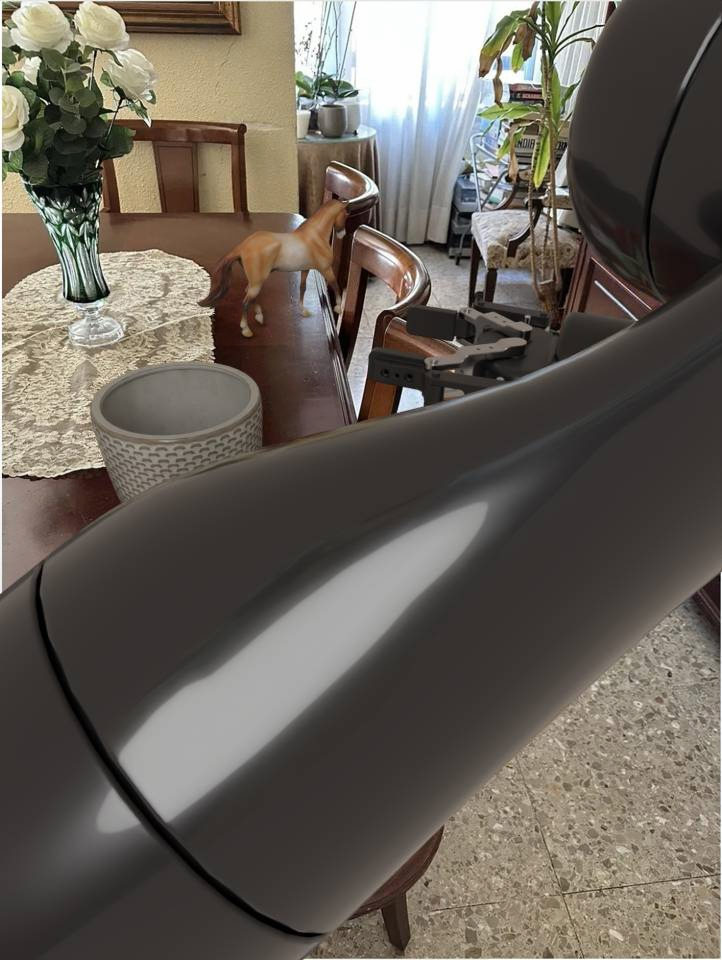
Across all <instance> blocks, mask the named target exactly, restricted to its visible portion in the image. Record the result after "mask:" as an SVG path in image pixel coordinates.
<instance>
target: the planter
mask: <svg viewBox="0 0 722 960" xmlns="http://www.w3.org/2000/svg"><path fill="white" fill-rule="evenodd" d="M262 399H263V398H262V395H261V390H260V388H259V386H258V383H257V382H256V380H254V379H253V378H252V377H251V376H249V375H248V374H247V373H246V372H243V371H241V370H240V369H237V368H235V367H232V366H230V365H225V364H221V363H217V362H209V361H208V362H207V361H200V360H199V361H198V360H197V361H196V360H195V361H192V360H191V361H189V360H188V361H187V360H186V361H171V362H162V363H157V364H152V365H148V366H144V367H139V368H137V369H134V370H131V371H128V372H126V373H124V374H121V375H119V376H117V377H115V378H114V379H112V380H110V381H109V382H106V384H105V385H103V386H102V387H101V388H100V389H99V390H98V391H97V392H96V393H95V395H94V396H93V398H92V399H91V403H90V406H89V415H90V423H91V427H92V430H93V433H94V436H95V439H96V442H97V445H98V448H99V451H100V454H101V458H102V460H103V463H104V466H105V468H106V472H107V475H108V477H109V479H110V481H111V485H112V487H113V489H114V491H115V493H116V496H117V498H118V500H119V502H120V504H121V503H123V502H125V501H126V500H128V499H130V498H131V497H133V496H135V495H137V494H139V493H141V492H143V491H145V490H147V489H149V488H150V487H152V486H154V485H156V484H158V483H160V482H162V481H165V480H168V479H170V478H173V477H176V476H178V475H181V474H184V473H186V472H189V471H192V470H194V469H197V468H200V467H202V466H205V465H208V464H210V463H213V462H216V461H218V460H221V459H225V458H228V457H231V456H235V455H238V454H242V453H245V452H249V451H252V450H256V449H259V448H263V421H264V420H263V419H264V418H263V415H264V414H263V400H262Z"/></svg>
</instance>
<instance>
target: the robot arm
mask: <svg viewBox="0 0 722 960" xmlns="http://www.w3.org/2000/svg"><path fill="white" fill-rule="evenodd" d="M572 106H573V107H572V111H571V116H570V120H569V125H568V130H567V143H566V144H567V146H566V160H565V170H566V180H567V188H568V190H567V191H568V199H569V202H570V205H571V209H572V212H573V216H574V218H575V219H574V220H575V222H576V224H577V228H578V229H579V231H580V232H581V235H582V237H583V239H584V241H585V242H586V243H587V245H588V247H589V248H590V250H591V252H592V253H593V254H594V255H595V256H596V257H597V258H598V260H599V261H600V262H601V263H602V264H603V265H604V266H605V267H607V268H608V269H609V270H610V271H611V272H613V273H614V275H616V276H617V277H619V278H620V279H621V280H622V281H624V282H625V283H626V284H628V285H629V286H631V287H632V288H634V289H636V290H637V291H639V292H640V293H642V294H643V295H645V296H648V297H649V298H651V299H653V300H655V301H657V302H658V303H661V304H662V305H660V306H658V307H657V308H654V310H652V311H650V312H649V313H647V314H645V315H644V316H642V317H641V318H639V319H637V320H634V319H626V318H620V317H614V316H606V315H601V314H600V315H599V314H593V313H587V312H580V311H571V312H569V313H568V314H566V315H565V317H564V319H563V321H562V325H561V328H560V332H559V333H557V334H556V333H555V332H551V331H550V328H551V324H552V323H551V322H552V319H553V314H552V313H550V312H547V311H545V310H543V311H542V310H537V309H531V308H525V307H519V306H513V305H508V304H503V303H502V304H501V303H496V302H490V301H485V300H475V301H473V302H472V307H469V306H464V307H460V308H459V309H458V310H456V309H450V308H443V307H436V306H431V305H424V304H417V303H413V304H411V305H410V307H408V308H407V310H406V319H405V331H406V333H407V334H409V335H411V336H416V337H422V338H428V339H433V340H439V341H445V342H451V343H452V342H454V340H455V342H456V343H458V344H460V345H462V346H460V347H459V348H458V349H457V350H456V352H454V354H448V355H447V354H446V355H438V356H437V355H436V356H429V357H427V355H426V354H420V353H415V352H409V351H405V350H404V351H403V350H397V349H391V348H387V347H381V346H376V347H373V348H372V350H371V351H370V352H369V353H368V358H367V360H368V361H367V377H368V379H369V380H370V381H372V382H374V383H380V384H384V385H390V386H395V387H401V388H405V389H411V390H414V391H415V390H416V391H419V392H420V393H421V397H422V398H423V406H419V407H415V408H411V409H407V410H403V411H398V412H395V413H391V414H386V415H382V416H378V417H375V418H370V419H365V420H362V421H357V422H353V423H350V424H345V425H341V426H338V427H333V428H329V429H326V430H322V431H318V432H314V433H311V434H306V435H303V436H300V437H299V436H298V437H295V438H292V439H288V440H284V441H281V442H276V443H274V444H270V445H267V446H264V447H263V446H262V448H259V449H256V450H252V451H249V452H245V453H242V454H238V455H235V456H231V457H228V458H225V459H221V460H218V461H216V462H213V463H210V464H208V465H205V466H202V467H200V468H197V469H194V470H192V471H189V472H186V473H184V474H181V475H178V476H176V477H173V478H170V479H168V480H165V481H162V482H160V483H158V484H156V485H154V486H152V487H150V488H149V489H147V490H145V491H143V492H141V493H139V494H137V495H135V496H133V497H131V498H130V499H128V500H126V501H125V502H123V503H121V502H120V504H118V505H117V506H115V507H113V508H112V509H110V510H108V511H107V512H105V513H103V514H102V515H100V516H99V517H98V518H96V519H95V520H94V521H92V522H91V523H89V524H87V525H86V526H85V527H84V528H82V529H80V530H79V531H78V532H77V533H75V534H73V535H72V536H71V537H69V538H68V539H66V540H65V541H64V542H62V543H61V544H59V545H58V546H57V547H56V548H55V549H52V551H51V552H50V553H49V554H48V555H46V556H45V557H44V558H43V559H42V560H40V561H39V562H37V564H35V565H34V566H33V567H31V568H30V569H29V570H27V572H25V573H24V574H23V575H22V576H20V577H19V578H18V579H17V580H15V581H14V582H13V583H11V584H10V585H9V586H8V587H7V588H5V589H4V590H3V591H2V592H0V960H305V959H306V958H307V957H308V956H309V955H310V954H312V952H314V951H315V950H316V949H317V948H318V947H319V946H320V945H321V944H323V943H324V942H325V941H326V940H327V939H328V938H329V937H330V936H331V935H332V934H334V932H335V931H336V930H338V929H340V928H341V927H342V926H344V924H345V923H346V922H347V921H348V920H349V919H350V918H351V917H352V916H353V915H354V914H356V912H357V911H358V910H359V909H360V908H361V907H363V906H364V904H365V903H366V902H368V901H369V899H371V898H372V897H373V896H374V895H375V894H376V893H377V892H378V890H380V888H381V887H383V885H385V884H386V882H388V881H389V880H390V879H391V878H392V876H394V875H395V874H396V873H397V872H398V871H399V870H400V869H401V868H402V867H403V866H404V865H405V864H406V863H407V862H408V861H409V860H410V859H411V858H412V857H414V855H415V854H416V853H417V852H418V851H419V850H420V849H421V848H422V847H423V846H424V845H426V843H427V842H428V841H430V840H431V838H432V837H433V836H435V834H436V833H437V832H438V831H439V830H440V829H442V828H443V827H444V826H445V825H446V824H447V823H448V822H449V821H450V820H451V819H452V818H453V817H454V816H455V815H456V814H457V813H458V812H459V811H460V810H461V809H462V808H463V807H464V806H465V805H466V804H467V803H468V802H469V801H470V800H471V799H472V798H473V797H474V796H476V794H478V792H479V791H480V790H481V789H483V787H485V785H487V783H489V782H490V781H491V780H492V779H493V778H494V777H495V776H496V775H497V774H498V773H499V772H500V771H501V770H502V769H503V768H505V766H507V765H508V764H509V763H510V762H511V761H512V760H513V759H514V758H515V757H516V756H518V754H520V753H521V752H522V751H523V750H524V749H525V748H526V747H527V746H528V745H529V744H530V743H532V741H533V740H534V739H536V737H539V735H540V734H541V733H542V732H543V731H544V730H546V728H548V726H549V725H551V724H552V723H553V722H554V721H555V720H556V719H557V718H558V717H559V716H560V715H561V714H563V713H564V712H565V711H566V710H567V709H568V708H569V707H570V706H571V705H572V704H573V703H574V702H575V701H577V700H578V699H579V698H580V697H581V696H582V695H583V694H584V693H585V692H586V691H587V690H588V689H590V687H592V686H593V685H594V684H595V683H596V682H597V681H598V680H600V678H601V677H603V675H605V673H606V672H608V671H609V670H610V669H611V668H612V667H614V665H615V664H616V663H617V662H619V660H621V659H622V658H623V657H624V656H625V655H627V653H629V652H630V651H631V650H632V649H633V648H634V647H635V646H636V645H637V644H638V643H640V642H641V641H642V640H643V639H644V638H645V637H646V636H647V635H649V633H651V632H652V631H653V630H654V629H655V628H657V627H658V625H660V624H661V623H662V622H663V621H664V620H665V619H667V618H668V617H669V616H670V615H671V614H672V613H674V612H675V611H676V610H677V609H678V608H680V607H681V606H682V605H684V604H685V603H686V602H687V601H688V600H689V599H691V598H692V597H693V596H694V595H696V594H697V593H698V592H699V591H700V590H702V589H703V588H704V587H705V586H706V585H707V584H709V583H710V582H711V581H712V580H714V579H715V578H716V577H718V576H719V575H720V574H721V573H722V0H620V2H619V3H618V5H617V6H616V7H615V9H614V10H613V12H612V14H611V15H610V16H609V18H608V19H607V21H606V23H605V25H604V27H603V28H602V30H601V32H600V34H599V36H598V37H597V40H596V42H595V44H594V46H593V48H592V50H591V52H590V54H589V57H588V60H587V63H586V65H585V68H584V71H583V73H582V76H581V79H580V82H579V85H578V87H577V90H576V93H575V98H574V102H573V105H572ZM451 371H454V372H451ZM446 398H449V399H446ZM445 399H446V400H445Z"/></svg>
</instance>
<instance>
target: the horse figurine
mask: <svg viewBox="0 0 722 960" xmlns="http://www.w3.org/2000/svg"><path fill="white" fill-rule="evenodd" d="M349 203H350V199H347V200H346V201H345V202H343V197H340V198H338V199H335V198H332V199H329V200H327V201H326V202H323V203H322V204H321V205H319V206H318V207H317V208H316V209H315V210H314V212H312V214H310V216H308V217H307V218H306V219H305V220H304V221H302V222H301V223H300V224H299V225H298V226H297V227H296V229H294V230H292V231H290V232H286V233H281V232H280V233H278V232H273V231H266V230H258V231H256V232H254V233H252V234H251V235H249V236H248V237H246V238H245V239H244V240H243V241H242V242H241V243H240V244H238V245H236V246H234V247H233V248H231V249H230V250H228V251H227V252H225V253H224V254H223V255H222V256H221V257H220V258H219V259H218V260H217V262H216V264H215V266H214V268H213V271H212V274H211V278H210V283H209V292H208V294H207V296H206V297H204V298H203V299H202V300H199V301H196V304H197V306H198V307H200V308H205V309H207V308H209V310H214V309H216V308H217V307H219V305H220V304H221V301H222V300H223V298H224V297H225V296H226V294H228V292H229V290H230V287H231V286H232V283H233V277H234V275H233V268H232V267H233V266H235V264H236V262H238V264H239V266H240V267H241V268H242V269H243V271H244V273H245V276H246V278H247V282H248V283H247V286H246V288H245V289H244V295H245V297H244V298H243V299H242V301H241V308H242V314H241V321H240V322H239V323H240V324H239V326H240V328H242V331H241V333H242V335H243V336H244V337H246V338H251V337H253V336H254V334H253V332H252V331H251V329H250V328H249V326H248V315H249V309H250V307H251V305H252V308H253V310H254V312H255V313H256V314H255V317H254V319H255V320H256V321H257V322H258V323H260V324H261V325H264V315H263V313H262V308H261V306H260V305H259V303H258V302H257V300H256V298H257V296H258V295H259V294H260V292H261V290H262V287H263V285H264V283H265V282H266V281H267V279H268V278H269V277H270V275H271V274H272V273H273V272H276V271H277V272H284V273H295V272H296V273H297V272H300V282H299V299H298V303H297V308H298V309H299V310H300V312H299V313H300V315H301V317H303V318H307V317H310V313H309V311H308V309H307V308H305V307H304V299H305V294H306V291H307V278H308V276H309V274H310V271H311V270H316V271H317V272H318V273H319V275H321V276H322V277H323V279H325V281H326V282H327V283H328V284H329V285H330V286H331V288H332V290H333V292H334V295H335V304H336V305H335V306H334V307H333V312H335V313H336V314H338V315H340V316H342V298H341V297H342V296H341V293H340V286H339V284H338V281H337V279H336V277H335V274H334V270H333V268H332V264H333V261H334V251H333V249H332V247H331V245H330V240H331V235H332V231H333V229H334V230H335V233H336V238H337V239H338V240H341V239H343V238H344V236H345V235H346V234H347V232H346V229H345V223H346V220H347V218H348V217H349V214H348V212H347V207H348V205H349Z"/></svg>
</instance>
